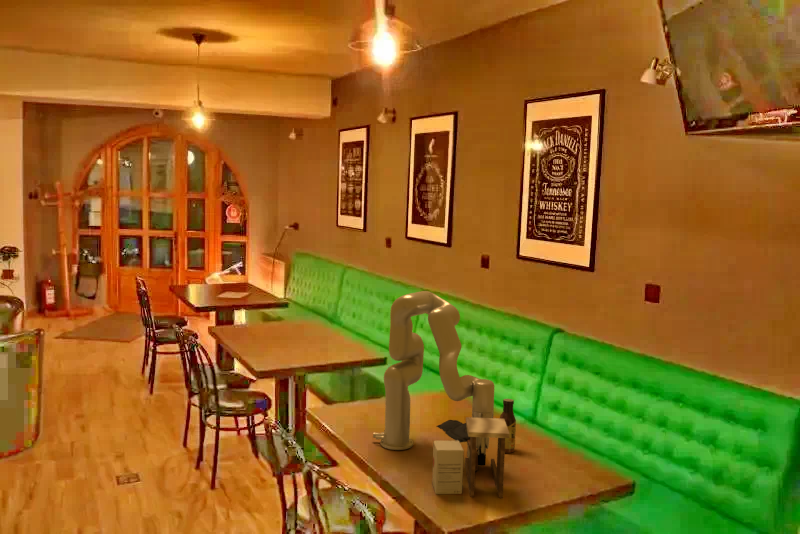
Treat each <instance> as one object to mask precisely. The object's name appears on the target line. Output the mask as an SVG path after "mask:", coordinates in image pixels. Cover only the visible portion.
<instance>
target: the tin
mask: <svg viewBox="0 0 800 534" xmlns="http://www.w3.org/2000/svg"><path fill="white" fill-rule="evenodd" d="M466 445H467V451H466V455H467V457H466V458H470V440H467V442H466ZM478 470H479V465H478V456H477V449H476V460H475V472H476V471H477V472H478Z"/></svg>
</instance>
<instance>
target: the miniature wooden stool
mask: <svg viewBox="0 0 800 534" xmlns="http://www.w3.org/2000/svg"><path fill="white" fill-rule="evenodd" d="M465 423H466V426H467V431H468V436H469V437H470V458H468V457H465V459H464V465H465V472H466V478H467V485H468V492H469V496H470V498H474V497H475V486H476V485H475V482H476V480H475V479H476V477H475V476H476V471H475V460H476V437H489V439H490V438H493V439H495V438H497V451H496V452H497V454H496V455H497V456H496V460H495V458H490V468H491V472H492V476H493V477H492V478H493V479H494V484H495V488H496V493H497V496H498V498H499V499H503V497H504V478H505V476H504V475H505V473H504V472H505V458H506V457H505V454H506V453H505V438H509V437H510V433H509V431H508V428H507V425H506V422H505V420H504V419H500V417H499V418H496V417H493V418H473V417H472V416H471V417H469V416H466V417H465Z"/></svg>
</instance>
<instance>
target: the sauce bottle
mask: <svg viewBox="0 0 800 534" xmlns="http://www.w3.org/2000/svg"><path fill="white" fill-rule="evenodd" d="M514 401H515V400H514V399H512V398H503V399H502V404H503V406H502V407H503V408H502V413H501V414H500V416H499V418H500V419H504V420H505V422H506V425H507V428H508V431H509V433H510V437H509V438H505V454H510V453H512V454H513V453H514V452H515V448H516V432H517V431H516V428H517V420H516V416H515V413H514V405H515V404H514V403H515V402H514Z"/></svg>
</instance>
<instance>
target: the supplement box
mask: <svg viewBox="0 0 800 534" xmlns="http://www.w3.org/2000/svg"><path fill="white" fill-rule="evenodd" d="M464 452H465V451H464V448H463V446H462V444H461V442H459V441H456V440H433V450H432V475H431V476H432V480H431V481H432V482H431V483H432V486H433V490H434V493H435V495H455V494H456V495H458V494H459V495H462V494H463V477H464V476H463V474H464V472H463V471H464Z"/></svg>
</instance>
